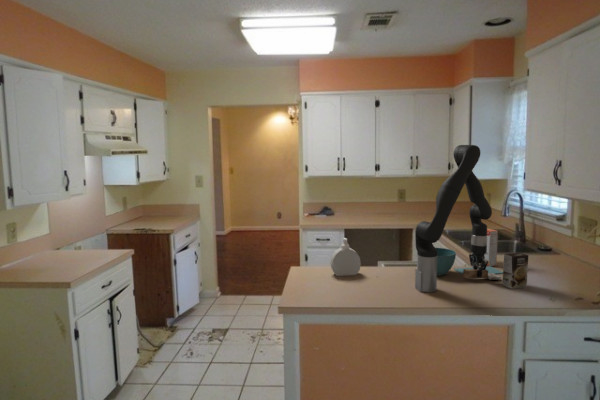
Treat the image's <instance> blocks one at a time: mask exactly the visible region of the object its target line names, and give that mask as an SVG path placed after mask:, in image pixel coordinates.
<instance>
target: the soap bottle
mask: <svg viewBox="0 0 600 400" xmlns="http://www.w3.org/2000/svg"><path fill="white" fill-rule="evenodd" d="M329 263H330V268H331V271H332V272H333V274H334V275H335V276H336V277H343V276H345V277H346V276H357V275H358V273H359V272H360V270H361V266H362V263H361V258H360V256H359V254H358V252H357V251H355V250H354V249H352V247H350V244H349V243H348V238H346V237H343V243H341V246H340V247H339V248H337V249H336V250H335V251H334V252H333V254H332V255H331V258H330V262H329Z"/></svg>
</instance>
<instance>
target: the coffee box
mask: <svg viewBox="0 0 600 400" xmlns="http://www.w3.org/2000/svg"><path fill="white" fill-rule="evenodd" d="M503 255H504V256H503V267H502V268H503V269H502V272H503V274H502V286H504V287H506V288H509V289H512V290H514V289H521V288H522V289H523V288H527V287H528V270H529V268H528V266H529V255H528V254H525V253H521V252H510V253H504V254H503Z"/></svg>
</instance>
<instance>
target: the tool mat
mask: <svg viewBox="0 0 600 400" xmlns="http://www.w3.org/2000/svg"><path fill="white" fill-rule="evenodd" d="M463 269H473V266H471V267H458V268H453V270H454V271H456V272H458V273H459V274H461V275H463ZM486 270H488V273H493V274H495V275H503V271H501V270H499V269H497V268H495V267H494V266H487V267H486Z"/></svg>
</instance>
